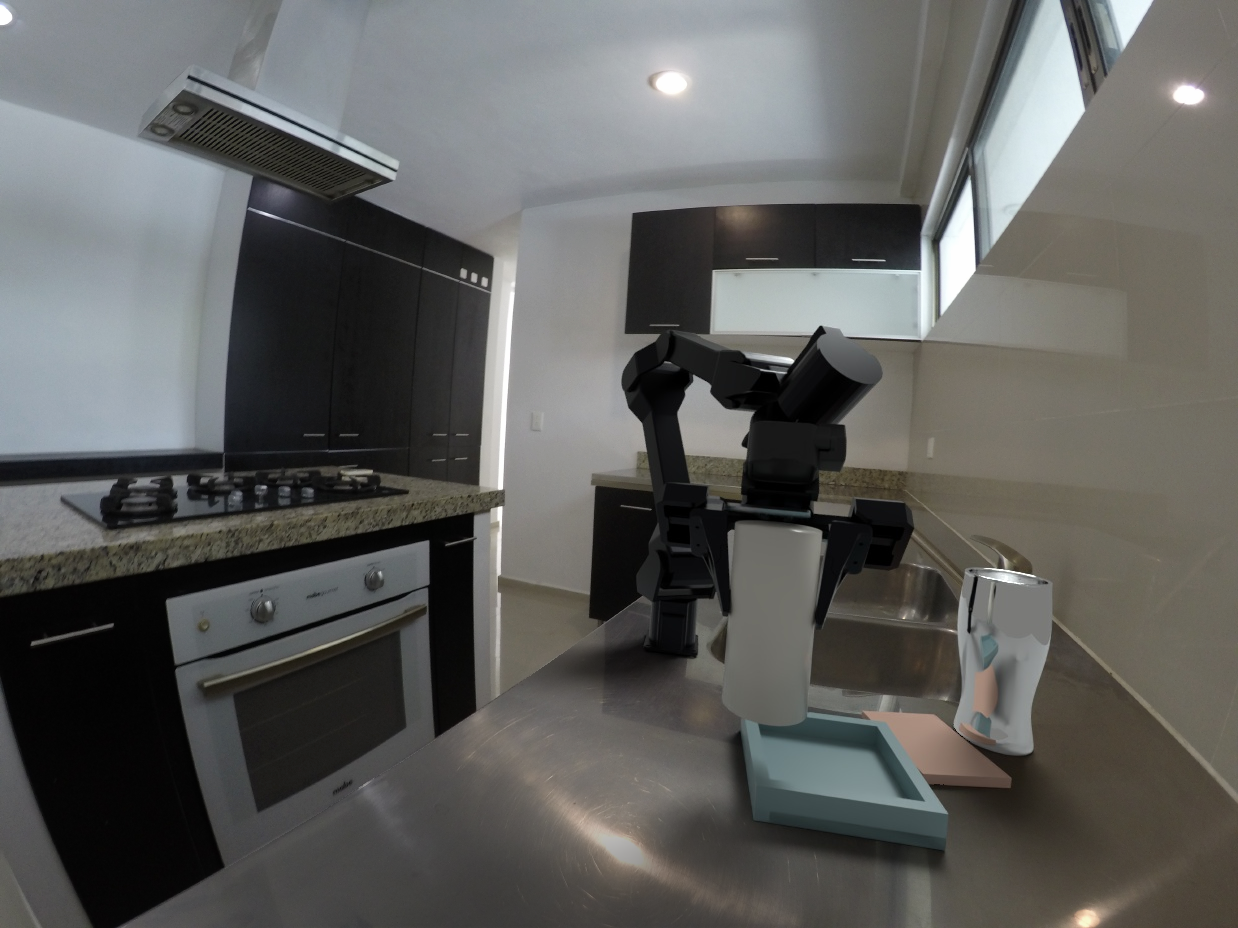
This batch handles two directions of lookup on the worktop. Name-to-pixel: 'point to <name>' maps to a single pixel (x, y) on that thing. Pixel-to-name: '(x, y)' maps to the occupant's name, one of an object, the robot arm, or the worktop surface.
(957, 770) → the plate
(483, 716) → the worktop surface
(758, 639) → the frosted white cylinder
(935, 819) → the tray
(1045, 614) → the beer glass
